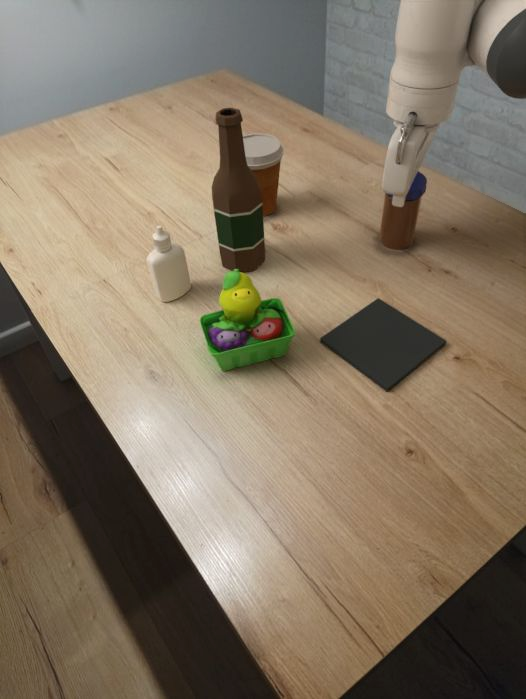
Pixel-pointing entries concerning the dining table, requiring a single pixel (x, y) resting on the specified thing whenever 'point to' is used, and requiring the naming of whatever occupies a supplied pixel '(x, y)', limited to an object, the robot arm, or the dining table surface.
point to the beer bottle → (237, 199)
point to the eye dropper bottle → (168, 267)
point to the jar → (398, 223)
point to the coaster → (383, 343)
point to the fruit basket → (246, 325)
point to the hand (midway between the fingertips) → (404, 191)
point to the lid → (416, 187)
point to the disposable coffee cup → (264, 165)
